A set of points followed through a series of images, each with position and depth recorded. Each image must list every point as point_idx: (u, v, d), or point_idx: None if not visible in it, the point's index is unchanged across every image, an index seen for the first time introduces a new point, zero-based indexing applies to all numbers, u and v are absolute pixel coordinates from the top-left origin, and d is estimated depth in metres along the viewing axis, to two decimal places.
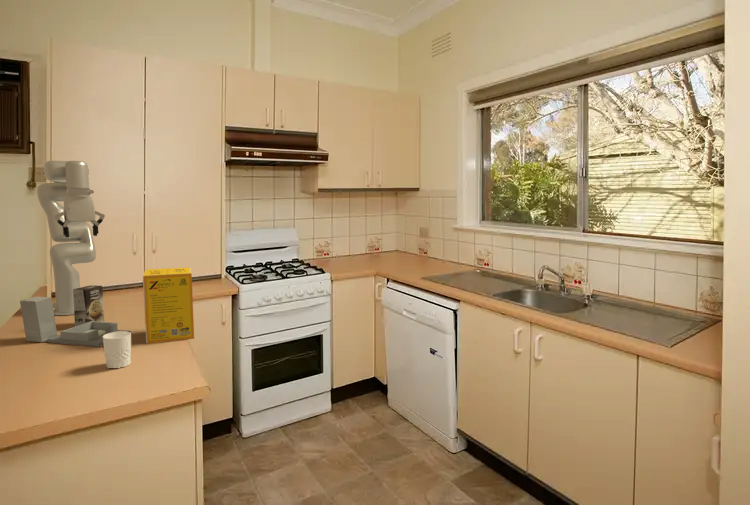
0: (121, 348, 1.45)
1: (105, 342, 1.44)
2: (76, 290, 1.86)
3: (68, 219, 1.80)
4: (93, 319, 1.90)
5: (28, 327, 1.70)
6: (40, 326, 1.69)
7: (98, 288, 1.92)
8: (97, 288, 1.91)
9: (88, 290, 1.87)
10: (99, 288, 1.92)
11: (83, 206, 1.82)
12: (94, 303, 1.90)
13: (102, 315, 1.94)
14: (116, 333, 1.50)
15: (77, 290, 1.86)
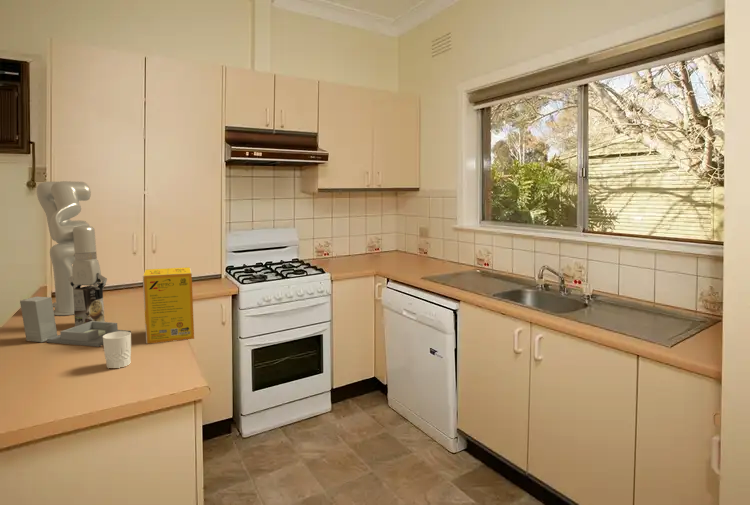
0: (121, 348, 1.45)
1: (105, 342, 1.44)
2: (76, 290, 1.86)
3: None
4: (93, 319, 1.90)
5: (28, 327, 1.70)
6: (40, 326, 1.69)
7: None
8: None
9: (88, 290, 1.87)
10: None
11: None
12: (94, 303, 1.90)
13: (102, 315, 1.94)
14: (116, 333, 1.50)
15: (77, 290, 1.86)
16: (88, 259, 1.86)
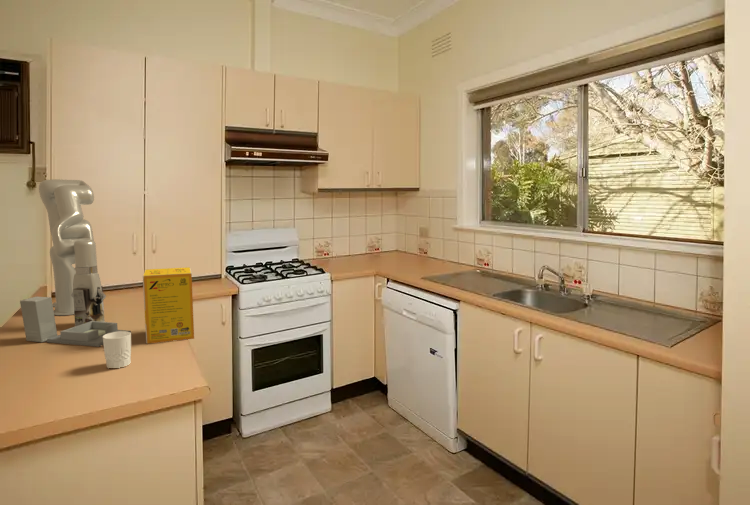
0: (121, 348, 1.45)
1: (105, 342, 1.44)
2: (76, 290, 1.86)
3: None
4: (93, 319, 1.90)
5: (28, 327, 1.70)
6: (40, 326, 1.69)
7: None
8: None
9: (88, 290, 1.87)
10: None
11: None
12: None
13: (102, 315, 1.94)
14: (116, 333, 1.50)
15: (77, 290, 1.86)
16: (89, 273, 1.87)
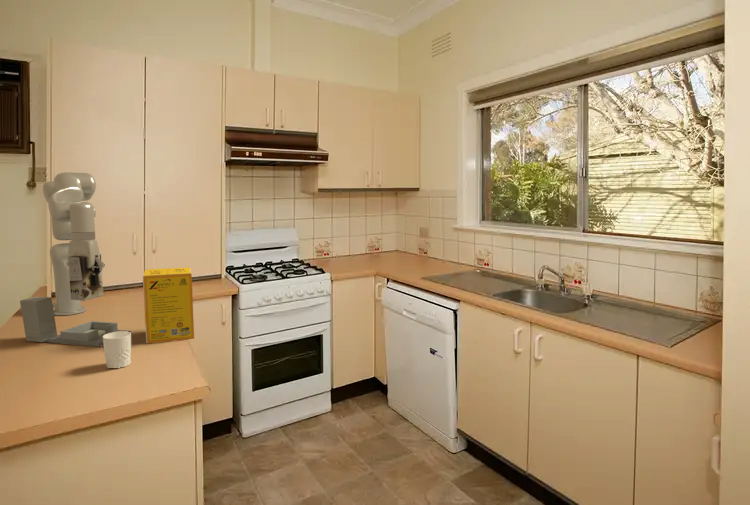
0: (121, 348, 1.45)
1: (105, 342, 1.44)
2: (72, 258, 1.68)
3: None
4: (90, 290, 1.71)
5: (28, 327, 1.70)
6: (40, 326, 1.69)
7: None
8: None
9: (85, 258, 1.68)
10: None
11: None
12: None
13: (100, 287, 1.76)
14: (116, 333, 1.50)
15: (73, 258, 1.68)
16: (86, 239, 1.69)
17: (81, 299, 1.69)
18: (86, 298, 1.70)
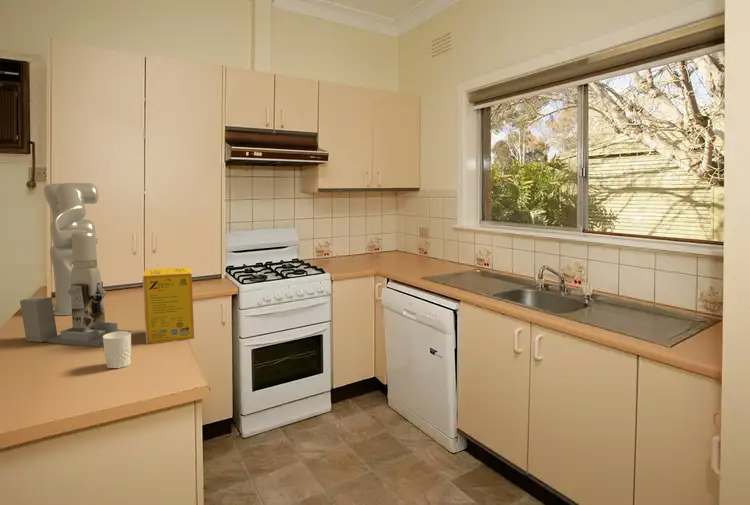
0: (121, 348, 1.45)
1: (105, 342, 1.44)
2: (74, 286, 1.69)
3: None
4: (92, 318, 1.73)
5: (28, 327, 1.70)
6: (40, 326, 1.69)
7: None
8: None
9: (87, 286, 1.70)
10: None
11: None
12: None
13: (102, 314, 1.77)
14: (116, 333, 1.50)
15: (75, 286, 1.69)
16: (88, 268, 1.70)
17: (83, 327, 1.70)
18: (88, 326, 1.71)
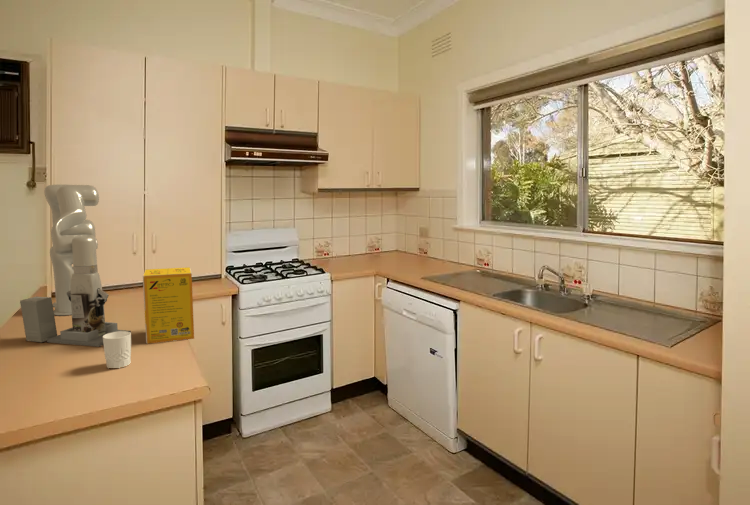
0: (121, 348, 1.45)
1: (105, 342, 1.44)
2: (74, 295, 1.70)
3: None
4: (92, 327, 1.73)
5: (28, 327, 1.70)
6: (40, 326, 1.69)
7: None
8: None
9: (87, 295, 1.70)
10: None
11: None
12: (94, 310, 1.73)
13: (103, 323, 1.78)
14: (116, 333, 1.50)
15: (75, 295, 1.70)
16: (88, 273, 1.70)
17: None
18: None
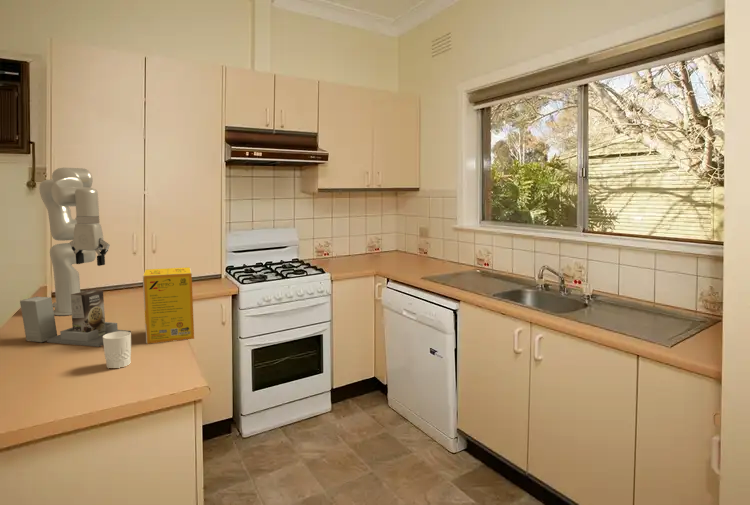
0: (121, 348, 1.45)
1: (105, 342, 1.44)
2: (74, 295, 1.70)
3: None
4: (92, 327, 1.73)
5: (28, 327, 1.70)
6: (40, 326, 1.69)
7: (98, 293, 1.75)
8: (97, 293, 1.75)
9: (87, 295, 1.70)
10: (99, 293, 1.76)
11: None
12: (94, 310, 1.73)
13: (103, 323, 1.78)
14: (116, 333, 1.50)
15: (75, 295, 1.70)
16: (90, 223, 1.77)
17: None
18: None
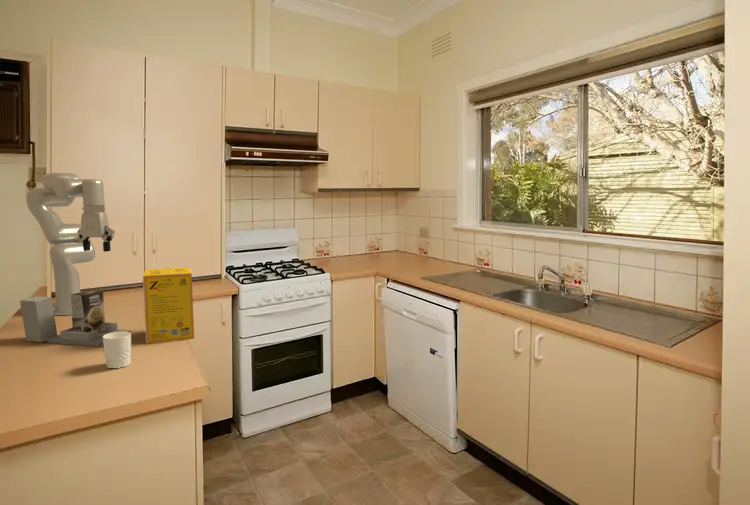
0: (121, 348, 1.45)
1: (105, 342, 1.44)
2: (74, 295, 1.70)
3: None
4: (92, 327, 1.73)
5: (28, 327, 1.70)
6: (40, 326, 1.69)
7: (98, 293, 1.75)
8: (97, 293, 1.75)
9: (87, 295, 1.70)
10: (99, 293, 1.76)
11: None
12: (94, 310, 1.73)
13: (103, 323, 1.78)
14: (116, 333, 1.50)
15: (75, 295, 1.70)
16: (97, 211, 1.90)
17: None
18: None
